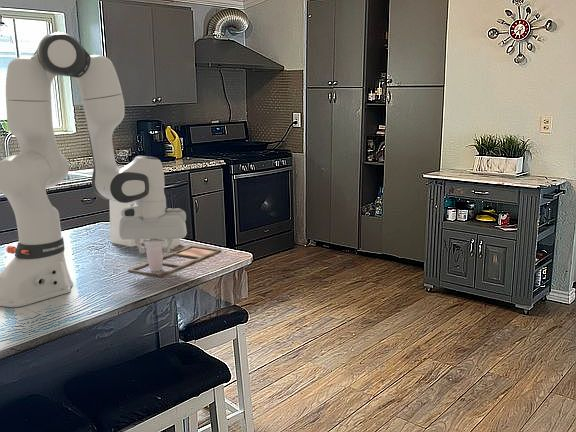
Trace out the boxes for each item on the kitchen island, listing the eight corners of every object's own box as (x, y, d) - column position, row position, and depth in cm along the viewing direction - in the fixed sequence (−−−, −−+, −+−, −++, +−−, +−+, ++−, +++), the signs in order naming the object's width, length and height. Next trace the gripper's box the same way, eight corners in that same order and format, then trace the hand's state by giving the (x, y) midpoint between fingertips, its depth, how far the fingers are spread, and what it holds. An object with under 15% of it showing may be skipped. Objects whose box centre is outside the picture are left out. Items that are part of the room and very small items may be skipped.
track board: (160, 277, 172) (159, 275, 172) (128, 271, 178) (128, 269, 178) (221, 251, 198) (221, 249, 198) (191, 247, 204) (191, 245, 204)
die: (172, 249, 203) (171, 232, 202) (157, 248, 204) (155, 231, 203) (179, 244, 209) (178, 228, 207) (164, 243, 210) (163, 227, 209)
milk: (135, 235, 223) (130, 168, 217) (156, 239, 216) (151, 170, 211) (110, 242, 213) (104, 172, 207) (131, 246, 207) (125, 174, 201)
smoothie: (169, 266, 183) (166, 223, 179) (162, 273, 176) (159, 228, 173) (149, 266, 183) (146, 223, 180) (142, 272, 177) (139, 228, 174)
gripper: (187, 206, 178) (190, 249, 181) (121, 207, 179) (125, 250, 182) (183, 210, 172) (186, 254, 175) (115, 211, 172) (119, 255, 176)
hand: (154, 252), depth 178 cm, fingers closed on smoothie, 6 cm apart
